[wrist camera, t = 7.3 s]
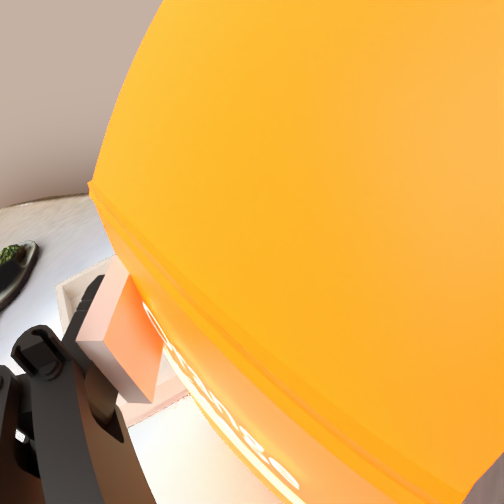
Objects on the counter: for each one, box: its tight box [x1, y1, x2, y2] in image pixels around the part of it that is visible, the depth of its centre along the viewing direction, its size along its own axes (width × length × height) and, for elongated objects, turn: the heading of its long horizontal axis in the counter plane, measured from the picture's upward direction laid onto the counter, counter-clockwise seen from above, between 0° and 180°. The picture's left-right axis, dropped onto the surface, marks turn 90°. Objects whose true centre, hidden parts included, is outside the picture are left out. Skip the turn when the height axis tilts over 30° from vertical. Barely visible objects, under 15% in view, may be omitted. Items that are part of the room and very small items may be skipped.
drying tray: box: [55, 254, 189, 428], centre depth 24 cm, size 17×17×2 cm
